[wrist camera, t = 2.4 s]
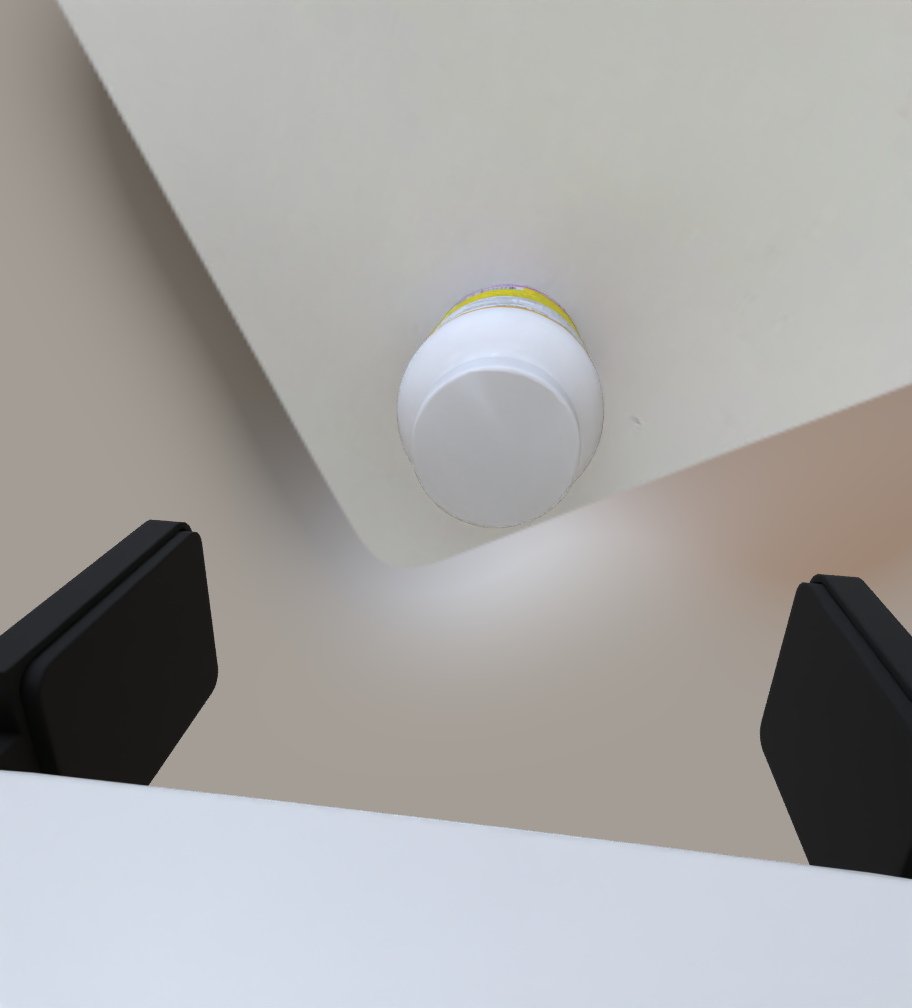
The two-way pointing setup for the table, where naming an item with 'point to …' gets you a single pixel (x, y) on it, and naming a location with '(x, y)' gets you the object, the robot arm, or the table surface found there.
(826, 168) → the table surface
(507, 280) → the table surface
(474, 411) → the supplement bottle
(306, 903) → the robot arm
